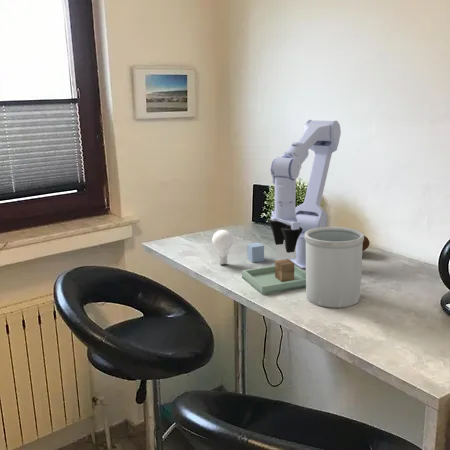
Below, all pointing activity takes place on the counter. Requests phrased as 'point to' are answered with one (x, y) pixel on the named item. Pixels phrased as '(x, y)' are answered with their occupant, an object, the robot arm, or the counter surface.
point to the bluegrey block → (255, 252)
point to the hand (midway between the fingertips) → (284, 248)
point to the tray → (273, 280)
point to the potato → (365, 243)
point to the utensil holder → (333, 266)
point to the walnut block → (284, 270)
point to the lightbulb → (222, 244)
